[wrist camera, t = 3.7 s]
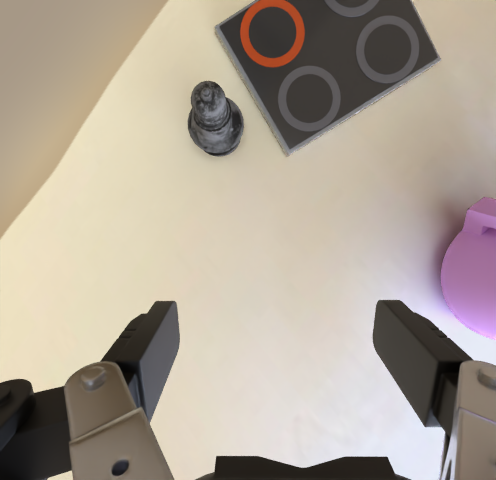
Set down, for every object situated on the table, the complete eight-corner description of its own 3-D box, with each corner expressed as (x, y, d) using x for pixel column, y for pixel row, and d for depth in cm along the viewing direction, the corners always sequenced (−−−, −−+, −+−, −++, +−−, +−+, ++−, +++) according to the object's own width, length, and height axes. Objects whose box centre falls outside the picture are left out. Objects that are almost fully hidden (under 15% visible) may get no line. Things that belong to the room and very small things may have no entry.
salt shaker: (183, 129, 33) (149, 84, 21) (221, 96, 33) (209, 31, 21) (215, 169, 33) (200, 146, 22) (253, 137, 33) (260, 96, 21)
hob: (368, -67, 31) (375, -82, 29) (434, 65, 33) (444, 57, 31) (215, 33, 32) (213, 23, 30) (286, 156, 33) (289, 154, 32)
